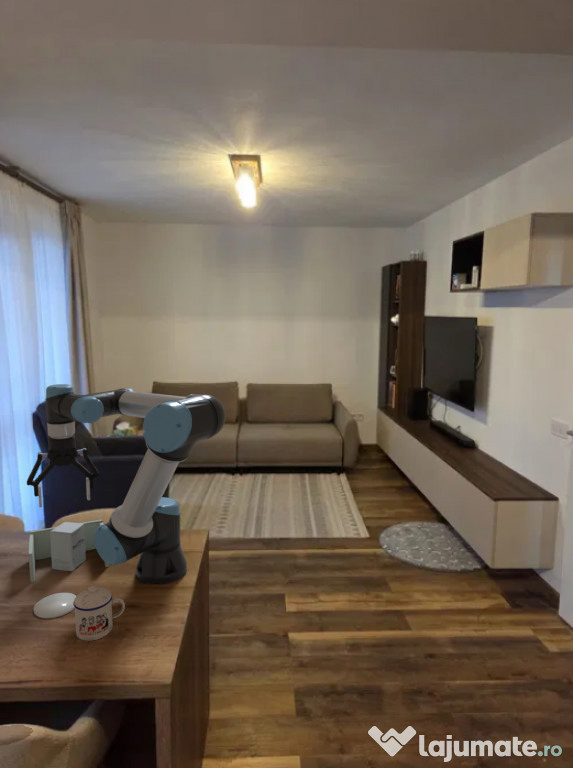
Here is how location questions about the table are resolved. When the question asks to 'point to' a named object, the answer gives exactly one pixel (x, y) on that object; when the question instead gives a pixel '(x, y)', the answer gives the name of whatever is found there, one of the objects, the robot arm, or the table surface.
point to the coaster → (55, 605)
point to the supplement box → (68, 546)
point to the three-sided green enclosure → (42, 543)
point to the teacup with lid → (95, 613)
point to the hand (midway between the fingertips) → (65, 502)
